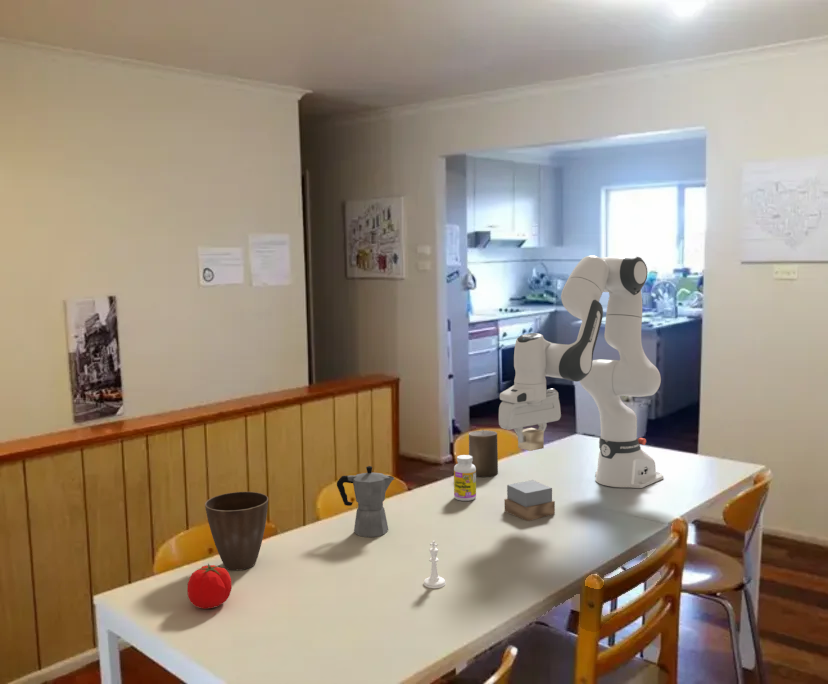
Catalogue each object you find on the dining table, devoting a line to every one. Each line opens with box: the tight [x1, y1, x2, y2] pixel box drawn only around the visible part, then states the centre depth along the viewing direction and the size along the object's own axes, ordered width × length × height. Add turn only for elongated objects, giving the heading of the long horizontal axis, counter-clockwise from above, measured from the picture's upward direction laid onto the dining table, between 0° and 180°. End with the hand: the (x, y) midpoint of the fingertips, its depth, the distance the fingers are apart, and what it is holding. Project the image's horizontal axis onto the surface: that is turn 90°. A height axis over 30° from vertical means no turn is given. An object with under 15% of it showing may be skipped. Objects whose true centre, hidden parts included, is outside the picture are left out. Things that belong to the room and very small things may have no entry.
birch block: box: [517, 427, 545, 452], centre depth 218 cm, size 5×5×5 cm
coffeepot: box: [336, 465, 395, 538], centre depth 207 cm, size 15×9×18 cm, turn 92°
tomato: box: [186, 563, 233, 609], centre depth 167 cm, size 9×10×8 cm
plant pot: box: [204, 491, 269, 571], centre depth 187 cm, size 15×15×16 cm
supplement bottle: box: [453, 454, 477, 502], centre depth 234 cm, size 7×7×13 cm
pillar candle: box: [468, 429, 499, 478], centre depth 260 cm, size 10×10×15 cm
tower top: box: [506, 479, 553, 507], centre depth 220 cm, size 9×9×4 cm
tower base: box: [503, 497, 556, 522], centre depth 220 cm, size 10×10×4 cm
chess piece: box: [423, 540, 447, 589], centre depth 174 cm, size 5×5×10 cm
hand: (530, 440), depth 218 cm, fingers closed on birch block, 5 cm apart
